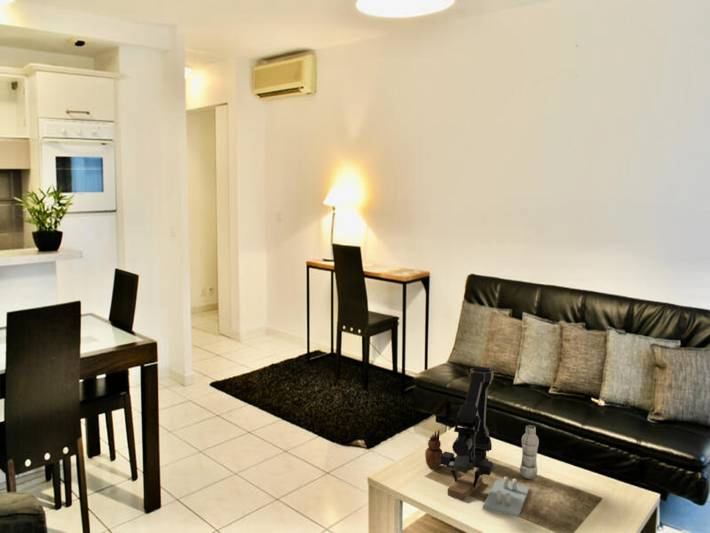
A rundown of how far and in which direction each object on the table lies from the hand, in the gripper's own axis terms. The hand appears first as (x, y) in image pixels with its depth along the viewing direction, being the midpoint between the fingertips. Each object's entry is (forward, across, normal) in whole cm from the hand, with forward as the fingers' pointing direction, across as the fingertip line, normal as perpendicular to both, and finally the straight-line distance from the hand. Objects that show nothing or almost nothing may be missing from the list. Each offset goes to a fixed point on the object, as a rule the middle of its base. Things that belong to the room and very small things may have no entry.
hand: (465, 484), depth 209 cm
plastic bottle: (+2, +19, +20) cm, 28 cm away
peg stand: (+2, +15, 0) cm, 15 cm away
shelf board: (+2, 0, 0) cm, 2 cm away
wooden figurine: (+2, -16, +11) cm, 19 cm away
